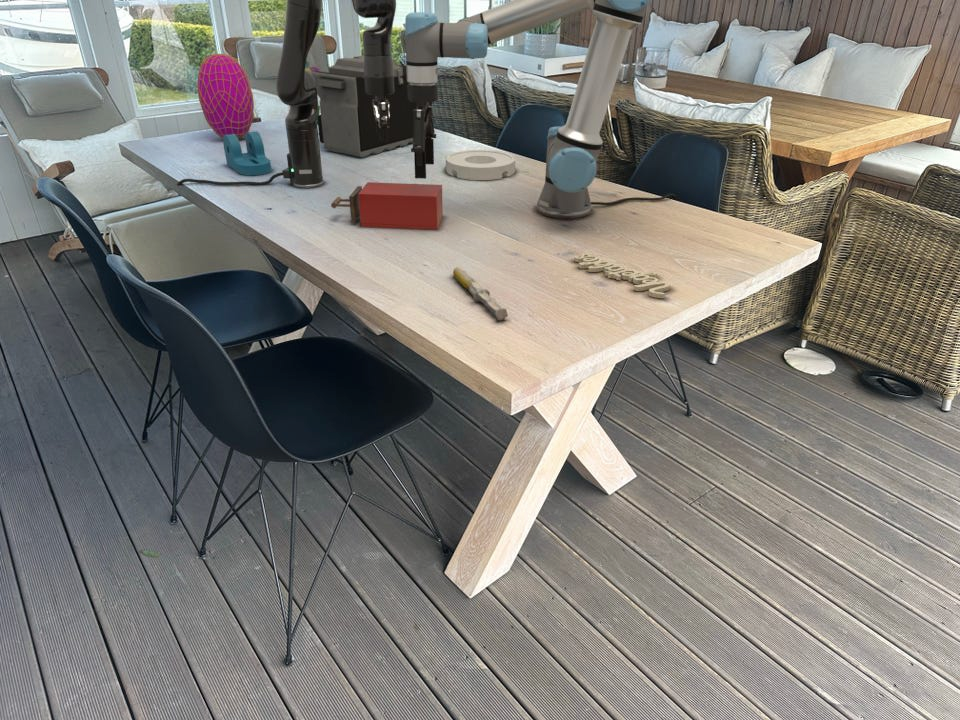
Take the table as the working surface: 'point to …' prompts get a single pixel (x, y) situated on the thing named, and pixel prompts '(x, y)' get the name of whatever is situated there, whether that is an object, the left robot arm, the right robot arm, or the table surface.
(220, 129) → the decorative egg
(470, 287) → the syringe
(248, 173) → the camera mount
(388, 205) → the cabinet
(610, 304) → the table surface
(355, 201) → the drawer
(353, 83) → the cooler box
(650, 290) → the decorative sign
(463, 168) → the ashtray
